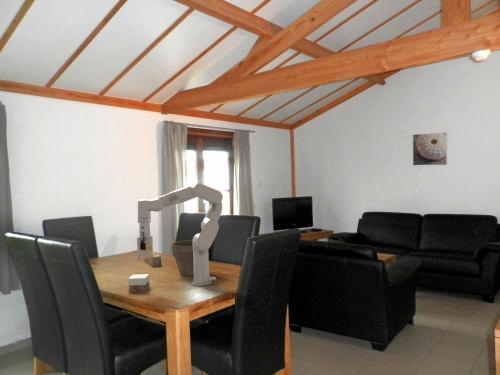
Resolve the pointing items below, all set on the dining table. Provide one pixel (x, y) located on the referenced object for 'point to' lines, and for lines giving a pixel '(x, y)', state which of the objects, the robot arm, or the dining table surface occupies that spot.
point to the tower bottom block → (138, 287)
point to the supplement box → (149, 249)
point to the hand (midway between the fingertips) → (144, 248)
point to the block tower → (154, 260)
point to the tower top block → (139, 279)
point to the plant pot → (184, 257)
